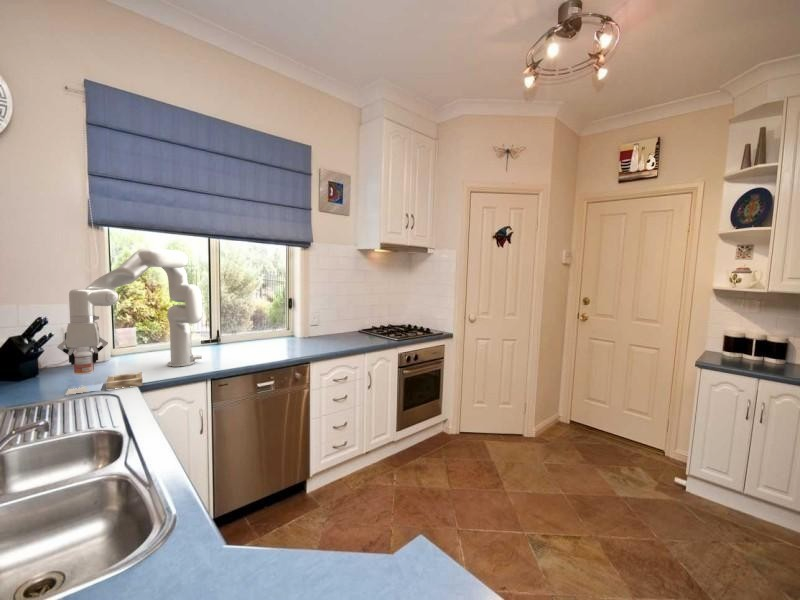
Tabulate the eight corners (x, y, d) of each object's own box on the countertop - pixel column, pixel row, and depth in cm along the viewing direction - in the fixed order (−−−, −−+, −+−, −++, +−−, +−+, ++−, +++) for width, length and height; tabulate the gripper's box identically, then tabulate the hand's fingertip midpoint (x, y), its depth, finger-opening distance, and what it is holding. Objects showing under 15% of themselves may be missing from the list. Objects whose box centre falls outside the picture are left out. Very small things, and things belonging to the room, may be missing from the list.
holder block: (142, 378, 165) (141, 372, 164) (142, 385, 155) (141, 378, 155) (108, 382, 158) (108, 376, 157) (106, 390, 148) (105, 383, 148)
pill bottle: (81, 370, 151) (81, 344, 150) (97, 371, 151) (97, 344, 151) (69, 374, 145) (69, 347, 144) (86, 375, 145) (86, 347, 145)
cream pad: (103, 383, 156) (103, 382, 156) (101, 390, 147) (101, 389, 147) (69, 388, 150) (69, 387, 150) (65, 395, 141) (65, 394, 141)
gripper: (110, 317, 155) (111, 359, 156) (55, 319, 145) (57, 364, 146) (109, 319, 149) (110, 362, 150) (51, 321, 139) (53, 368, 140)
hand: (84, 362), depth 148 cm, fingers closed on pill bottle, 6 cm apart
